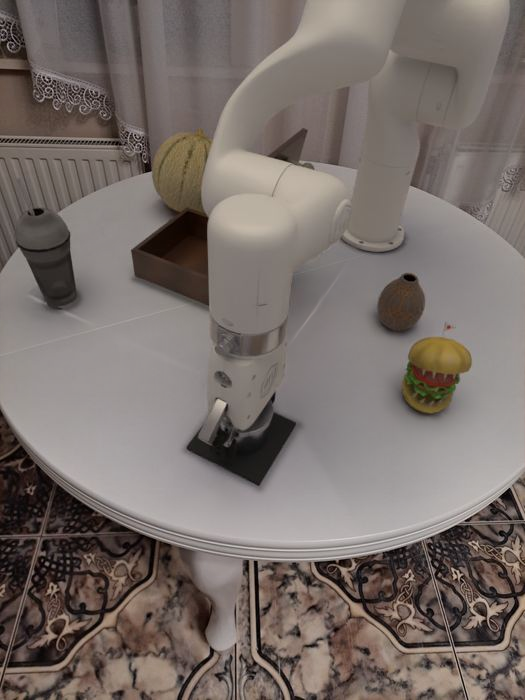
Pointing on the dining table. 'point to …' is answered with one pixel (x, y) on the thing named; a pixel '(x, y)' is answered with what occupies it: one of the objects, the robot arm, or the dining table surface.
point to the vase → (401, 303)
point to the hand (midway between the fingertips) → (243, 425)
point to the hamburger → (434, 372)
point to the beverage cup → (47, 252)
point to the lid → (292, 150)
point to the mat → (255, 463)
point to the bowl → (252, 432)
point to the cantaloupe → (181, 170)
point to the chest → (177, 256)
